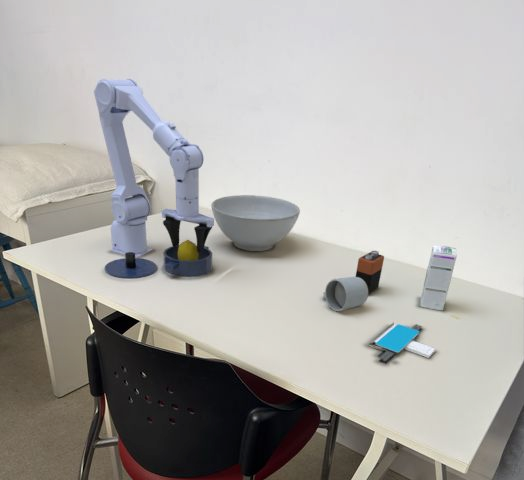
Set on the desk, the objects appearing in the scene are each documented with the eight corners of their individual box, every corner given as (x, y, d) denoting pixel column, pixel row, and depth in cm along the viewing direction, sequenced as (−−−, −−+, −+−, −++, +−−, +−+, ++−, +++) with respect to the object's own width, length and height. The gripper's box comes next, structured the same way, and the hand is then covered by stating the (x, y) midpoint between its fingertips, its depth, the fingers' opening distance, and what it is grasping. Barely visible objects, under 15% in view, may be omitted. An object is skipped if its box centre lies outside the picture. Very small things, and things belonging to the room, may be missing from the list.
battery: (378, 288, 133) (385, 252, 128) (367, 295, 128) (374, 258, 123) (364, 283, 135) (370, 248, 130) (352, 290, 130) (358, 254, 125)
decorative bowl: (245, 226, 173) (247, 190, 166) (311, 245, 160) (316, 207, 154) (192, 244, 153) (192, 204, 147) (263, 267, 141) (266, 224, 134)
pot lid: (94, 273, 129) (92, 256, 127) (126, 258, 140) (125, 242, 137) (136, 284, 125) (135, 267, 122) (166, 268, 135) (166, 251, 133)
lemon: (200, 265, 138) (200, 237, 134) (196, 273, 133) (195, 244, 129) (180, 263, 138) (179, 235, 134) (175, 271, 133) (174, 242, 129)
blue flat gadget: (413, 374, 97) (415, 367, 96) (358, 353, 103) (360, 346, 102) (447, 337, 111) (449, 331, 110) (397, 320, 117) (398, 314, 116)
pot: (148, 275, 130) (147, 257, 128) (185, 255, 145) (185, 239, 142) (190, 286, 126) (190, 268, 124) (224, 264, 141) (225, 247, 138)
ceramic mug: (368, 309, 121) (373, 279, 117) (343, 316, 117) (348, 286, 113) (338, 293, 128) (342, 265, 125) (314, 300, 124) (317, 270, 120)
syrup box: (443, 311, 123) (458, 255, 116) (418, 306, 124) (432, 251, 117) (442, 302, 128) (457, 247, 120) (419, 298, 129) (432, 244, 122)
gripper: (153, 195, 125) (156, 247, 132) (204, 204, 120) (204, 258, 127) (169, 190, 130) (171, 240, 137) (218, 198, 126) (217, 250, 133)
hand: (188, 248), depth 132 cm, fingers open, 7 cm apart
